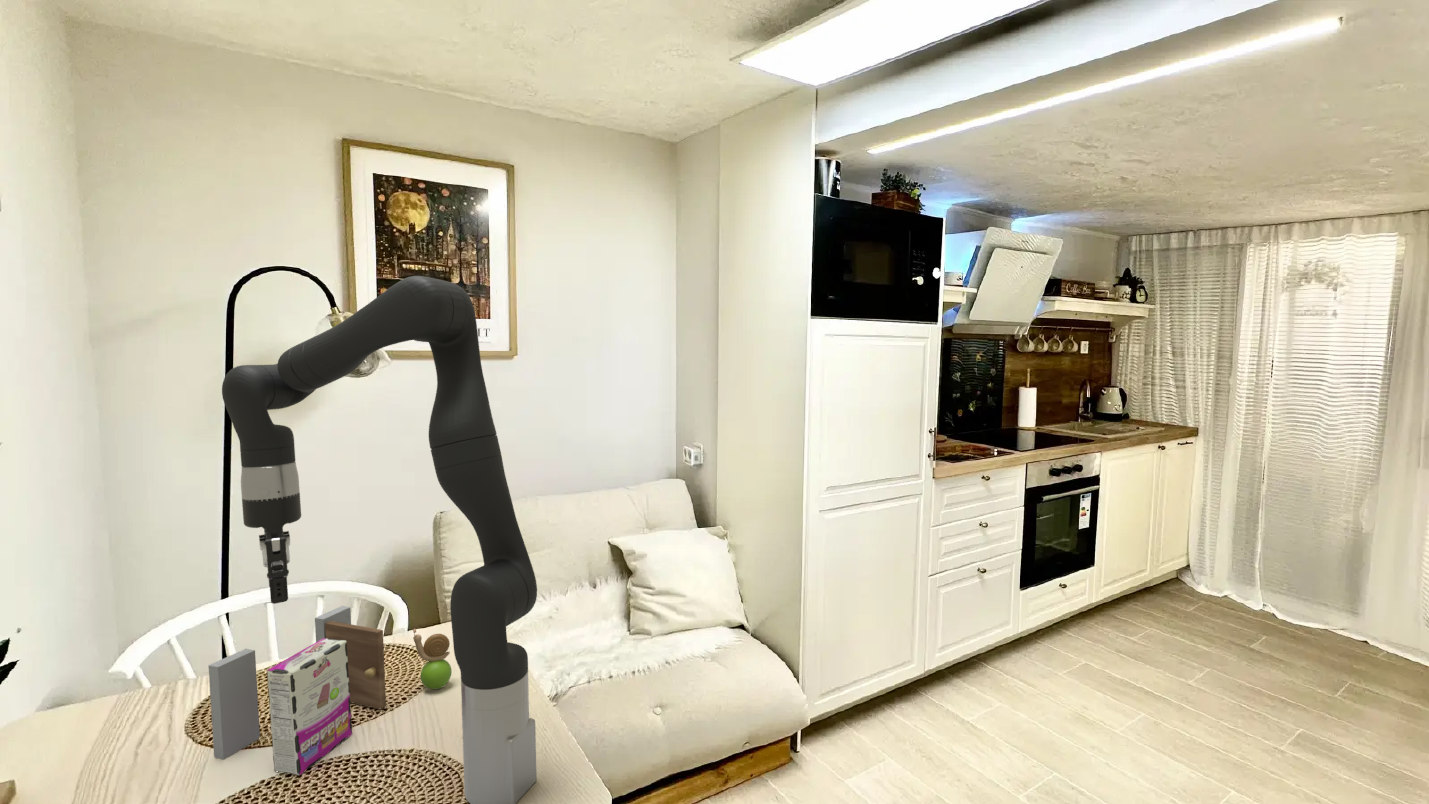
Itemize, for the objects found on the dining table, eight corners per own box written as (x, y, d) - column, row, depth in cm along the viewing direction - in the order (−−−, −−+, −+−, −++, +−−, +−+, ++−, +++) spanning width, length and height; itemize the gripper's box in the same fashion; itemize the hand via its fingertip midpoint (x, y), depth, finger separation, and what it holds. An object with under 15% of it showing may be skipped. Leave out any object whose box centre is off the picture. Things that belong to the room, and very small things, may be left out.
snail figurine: (415, 685, 126) (412, 624, 126) (451, 678, 129) (449, 618, 128) (415, 698, 122) (413, 635, 121) (452, 691, 124) (450, 629, 123)
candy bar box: (327, 731, 111) (323, 636, 110) (353, 735, 110) (349, 639, 109) (270, 773, 100) (264, 668, 99) (298, 777, 99) (293, 672, 98)
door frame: (353, 683, 127) (350, 607, 126) (223, 759, 103) (217, 667, 102) (345, 681, 128) (342, 606, 127) (214, 757, 104) (208, 665, 103)
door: (334, 694, 122) (330, 620, 121) (385, 705, 118) (382, 630, 117) (322, 700, 120) (319, 626, 119) (375, 712, 116) (371, 635, 115)
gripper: (302, 496, 100) (310, 601, 101) (296, 483, 111) (303, 577, 112) (241, 503, 95) (249, 614, 96) (241, 489, 107) (249, 587, 108)
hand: (278, 594), depth 104 cm, fingers open, 8 cm apart
